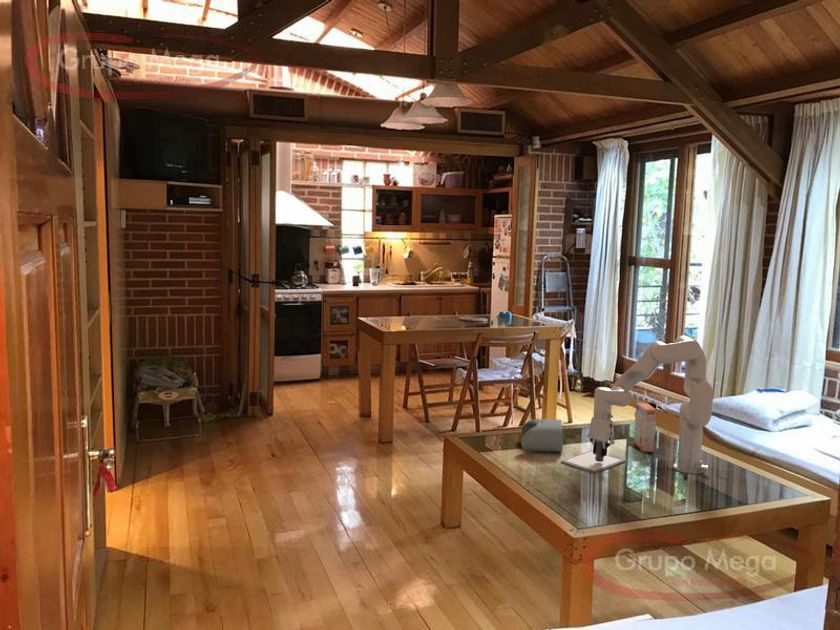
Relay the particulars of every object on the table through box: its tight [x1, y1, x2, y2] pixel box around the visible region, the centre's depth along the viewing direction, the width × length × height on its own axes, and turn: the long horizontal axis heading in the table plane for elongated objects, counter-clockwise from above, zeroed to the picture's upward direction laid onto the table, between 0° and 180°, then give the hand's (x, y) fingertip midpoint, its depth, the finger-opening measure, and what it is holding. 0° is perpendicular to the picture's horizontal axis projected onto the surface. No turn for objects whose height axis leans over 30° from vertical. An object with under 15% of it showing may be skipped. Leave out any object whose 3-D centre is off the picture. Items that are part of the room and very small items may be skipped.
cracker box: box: [633, 402, 658, 453], centre depth 335 cm, size 14×6×21 cm, turn 179°
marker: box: [595, 440, 604, 462], centre depth 309 cm, size 4×4×12 cm
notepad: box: [560, 450, 626, 475], centre depth 314 cm, size 18×24×1 cm
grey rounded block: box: [520, 419, 564, 452], centre depth 332 cm, size 22×19×13 cm
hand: (599, 454), depth 309 cm, fingers closed on marker, 3 cm apart
